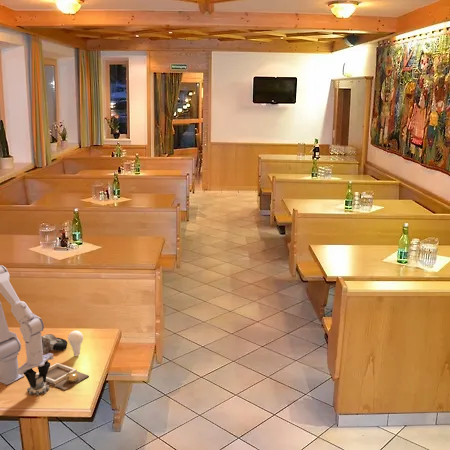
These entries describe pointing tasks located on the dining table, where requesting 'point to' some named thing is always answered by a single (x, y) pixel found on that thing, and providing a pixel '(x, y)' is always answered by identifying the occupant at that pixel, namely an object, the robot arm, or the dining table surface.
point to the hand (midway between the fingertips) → (37, 384)
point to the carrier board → (63, 384)
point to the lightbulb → (75, 341)
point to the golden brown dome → (72, 377)
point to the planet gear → (38, 386)
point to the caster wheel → (53, 343)
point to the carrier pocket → (61, 376)
